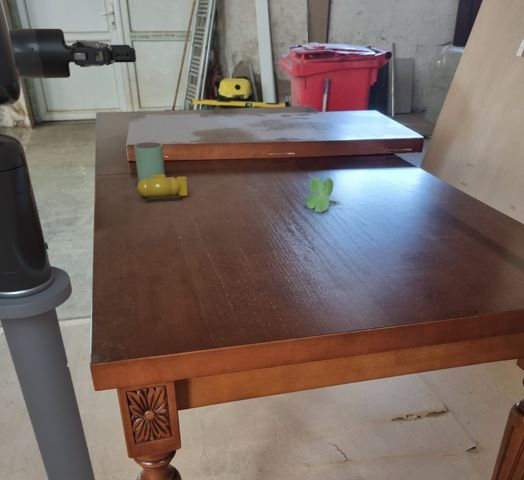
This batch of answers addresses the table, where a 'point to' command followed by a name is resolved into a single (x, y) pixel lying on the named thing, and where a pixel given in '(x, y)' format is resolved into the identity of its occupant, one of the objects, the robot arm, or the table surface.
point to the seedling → (319, 194)
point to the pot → (149, 160)
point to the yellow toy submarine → (162, 188)
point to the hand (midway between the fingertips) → (133, 53)
